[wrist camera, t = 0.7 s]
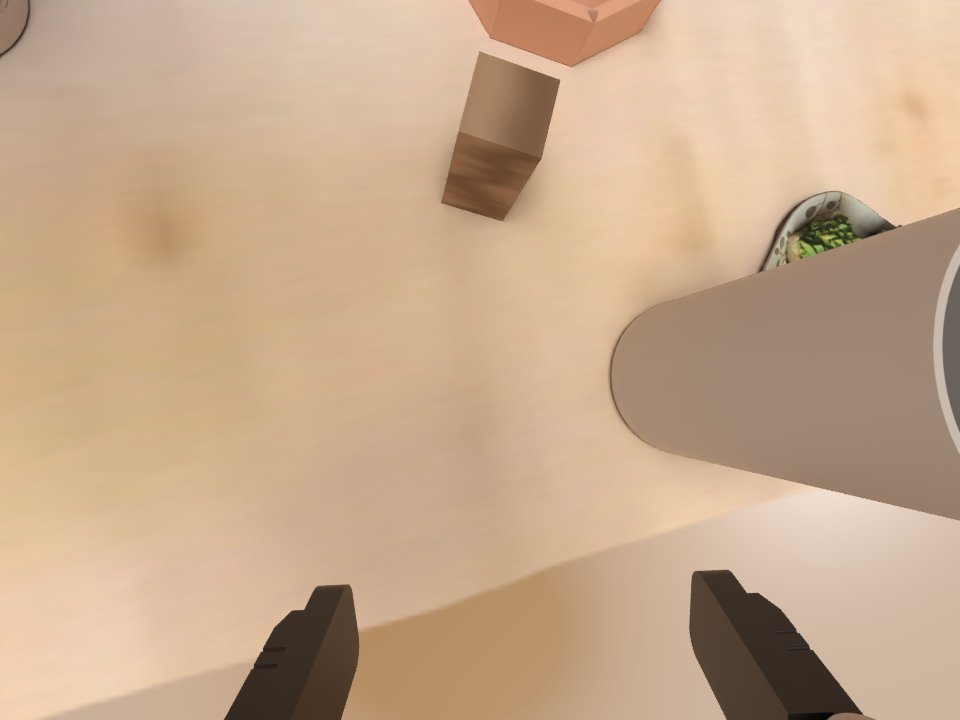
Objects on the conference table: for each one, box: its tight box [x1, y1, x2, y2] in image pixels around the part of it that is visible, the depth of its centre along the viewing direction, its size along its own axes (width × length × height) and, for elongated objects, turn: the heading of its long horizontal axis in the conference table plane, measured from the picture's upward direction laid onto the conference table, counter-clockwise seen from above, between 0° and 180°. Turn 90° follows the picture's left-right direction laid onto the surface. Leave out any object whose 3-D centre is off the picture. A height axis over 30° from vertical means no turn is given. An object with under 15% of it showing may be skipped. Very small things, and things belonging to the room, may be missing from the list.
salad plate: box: [761, 191, 902, 272], centre depth 42 cm, size 19×18×5 cm
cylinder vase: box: [611, 208, 960, 520], centre depth 29 cm, size 12×12×25 cm
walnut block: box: [442, 51, 560, 221], centre depth 34 cm, size 5×5×11 cm
